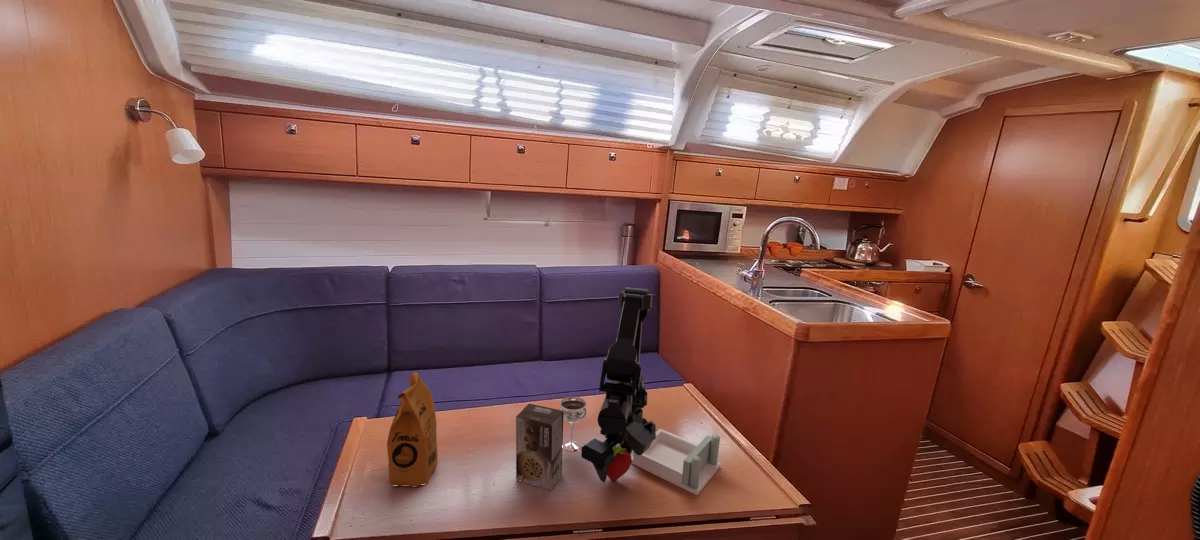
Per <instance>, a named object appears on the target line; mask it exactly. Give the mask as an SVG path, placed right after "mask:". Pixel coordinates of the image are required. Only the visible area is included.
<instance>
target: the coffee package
mask: <svg viewBox="0 0 1200 540" xmlns="http://www.w3.org/2000/svg"><path fill="white" fill-rule="evenodd" d="M408 379H409V381H408V382H409V387H408V388H407V389H405V390H404V391H402V392H401V393H400V394H398V395H397V399H400V402H399V404H398V407H397V409H396V413H395V414H394V418H393V419H392V422H391V425H390V428H389V433H388V436H387V441H386V449H387V458H388V459H387V460H388V482H389V484H390V485H391V486H392V485H409V486H408V487H412V486H418V485H421V484H425V483H427V482H428V483H429V481H430V478H431V475H432V473H433V472H434V471H435V469H436V467H437V465H438V460H439V458H438V457H439V455H438V442H437V441H438V440H437V424H438V423H437V417H436V408H435V402H434V399H433V395H432V393H431V390H430V389H429V387H428V386H427V385H426V383H425V382H424V381H423V379H422V378H421V376H420V375H419V373H418V372H417V371H414V372H412V373H411V374H410V375H409V378H408ZM428 480H429V481H428ZM428 483H427V484H428ZM418 487H419V486H418Z"/></svg>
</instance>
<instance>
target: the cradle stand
mask: <svg viewBox="0 0 1200 540" xmlns="http://www.w3.org/2000/svg"><path fill="white" fill-rule="evenodd" d="M655 434H656V435H655V436H656V439H655V440H653V442H652V443H651V445H650V447H649V449H648V450H646V451H645V452H644V453H643V454H642V455H637V454H636V453H634V451H632V452H633V454H632V455H631V459H632V463H631V465H634V466H636V467H638V468H640V469H642V470H644V471H646V472H649V473H650V474H653V475H655V476H657V477H659V478H661V479H663V480H665V481H666V482H669V483H670V484H673V485H674V486H677V487H679V488H681V489H682V490H685V491H688V492H689V493H691V494H693V495H695V496H698V495H699V494H700V492H702V490H703V489H704V487H705V486H706V485H707V484H708V483H709V481H710V480H711V479H712V478H713V476H714V475H715V474H716V473H717V471H718V470H719V469H720V467H721V463H720V462H718V458H719V457H718V456H719V450H720V442H721V441H720V440H721V437H720V435H717V434H712V435H711V436H710V435H708V434H707V435H706V436H705V437H704V438H703V439H702V440H701V441H700V442H699V443H695V442H693V441H690V440H688V439H686V438H684V437H681V436H679V435H676V434H674V433H672V432H669V431H667V430H664V429H662V428H658V429H657V430H656V433H655Z"/></svg>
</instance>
